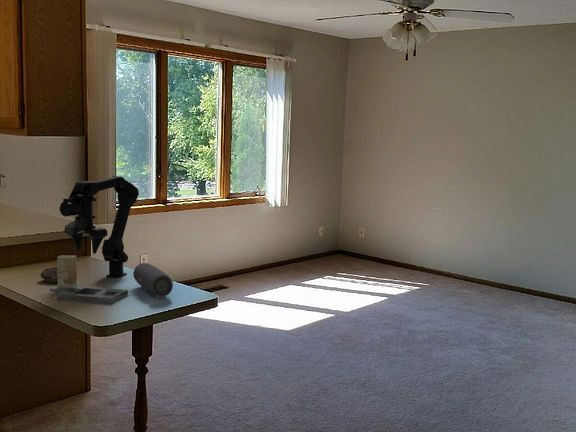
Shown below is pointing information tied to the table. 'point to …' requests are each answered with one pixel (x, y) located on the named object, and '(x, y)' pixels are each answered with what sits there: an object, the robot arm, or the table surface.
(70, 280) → the skincare box
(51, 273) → the concrete sample
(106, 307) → the table surface
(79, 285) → the pad
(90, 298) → the grey black flat block
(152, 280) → the bluetooth speaker
